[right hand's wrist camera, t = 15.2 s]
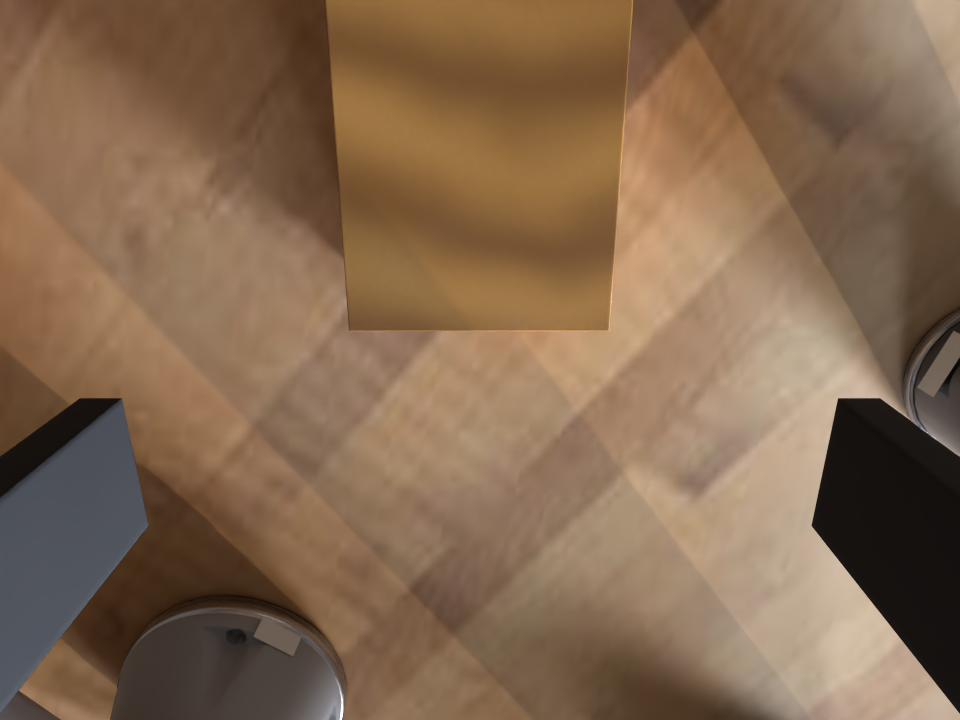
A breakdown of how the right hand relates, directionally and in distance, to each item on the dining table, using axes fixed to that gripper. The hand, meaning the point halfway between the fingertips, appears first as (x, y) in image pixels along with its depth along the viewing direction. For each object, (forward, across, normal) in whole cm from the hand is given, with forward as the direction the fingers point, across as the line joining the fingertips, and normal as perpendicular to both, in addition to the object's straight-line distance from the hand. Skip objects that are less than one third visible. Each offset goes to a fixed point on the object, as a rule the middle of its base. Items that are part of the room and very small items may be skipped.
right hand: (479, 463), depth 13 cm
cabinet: (+26, 0, -8) cm, 27 cm away
